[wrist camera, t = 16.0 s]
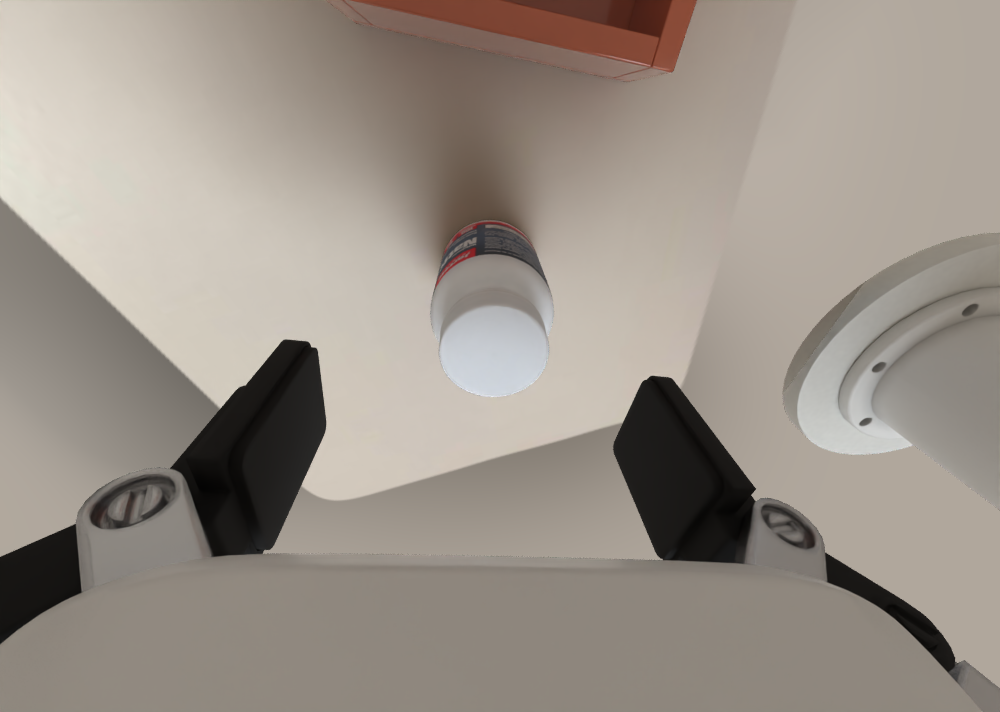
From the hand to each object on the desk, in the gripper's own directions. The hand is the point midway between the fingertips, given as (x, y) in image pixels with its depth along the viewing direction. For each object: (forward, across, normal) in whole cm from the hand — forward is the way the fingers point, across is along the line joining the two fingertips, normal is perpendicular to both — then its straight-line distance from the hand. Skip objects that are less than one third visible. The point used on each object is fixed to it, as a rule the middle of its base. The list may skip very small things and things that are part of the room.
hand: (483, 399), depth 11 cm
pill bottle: (+12, -1, 0) cm, 12 cm away
